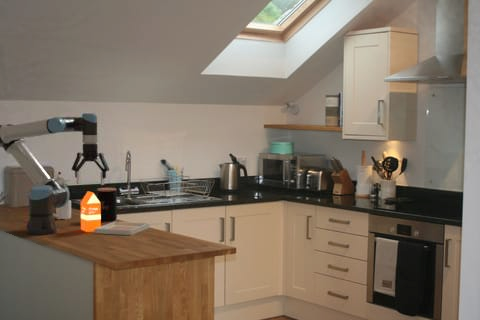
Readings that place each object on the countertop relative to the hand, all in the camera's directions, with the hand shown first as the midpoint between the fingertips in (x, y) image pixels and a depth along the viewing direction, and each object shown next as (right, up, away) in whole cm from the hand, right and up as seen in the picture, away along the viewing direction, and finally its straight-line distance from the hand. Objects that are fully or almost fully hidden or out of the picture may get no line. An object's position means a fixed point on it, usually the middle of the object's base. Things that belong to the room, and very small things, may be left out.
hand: (90, 184), depth 358 cm
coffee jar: (+2, -22, +34) cm, 41 cm away
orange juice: (0, -24, +2) cm, 24 cm away
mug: (-26, -21, +39) cm, 51 cm away
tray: (+16, -24, +1) cm, 29 cm away
